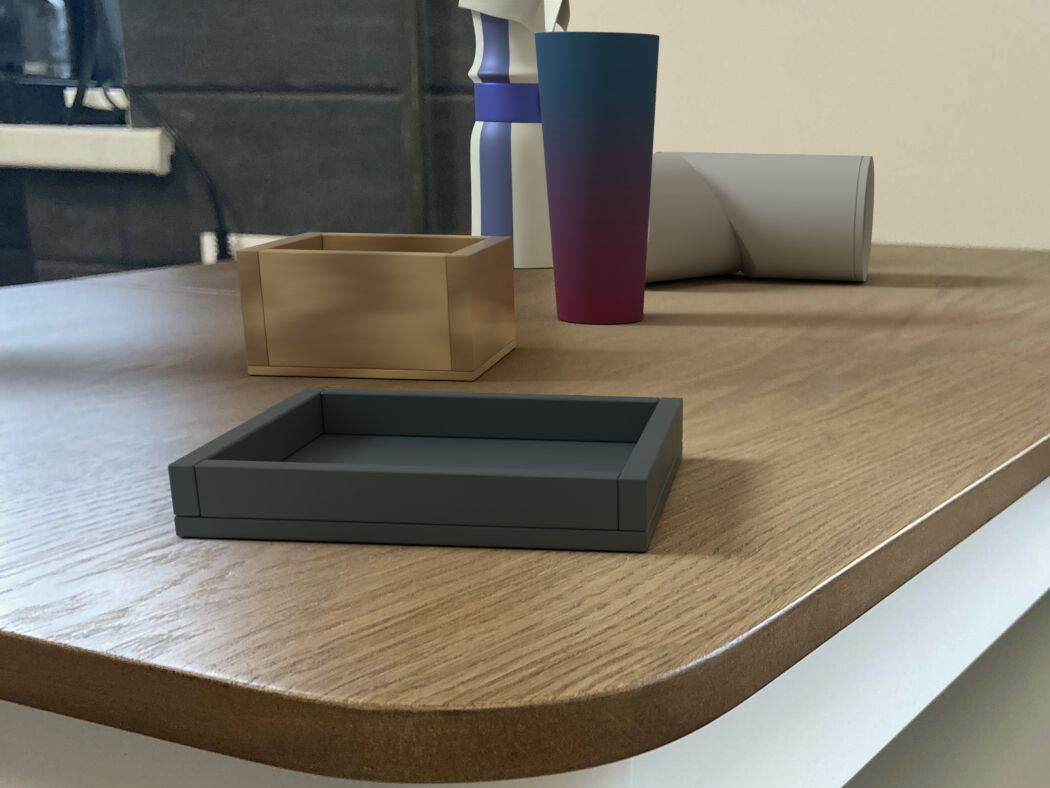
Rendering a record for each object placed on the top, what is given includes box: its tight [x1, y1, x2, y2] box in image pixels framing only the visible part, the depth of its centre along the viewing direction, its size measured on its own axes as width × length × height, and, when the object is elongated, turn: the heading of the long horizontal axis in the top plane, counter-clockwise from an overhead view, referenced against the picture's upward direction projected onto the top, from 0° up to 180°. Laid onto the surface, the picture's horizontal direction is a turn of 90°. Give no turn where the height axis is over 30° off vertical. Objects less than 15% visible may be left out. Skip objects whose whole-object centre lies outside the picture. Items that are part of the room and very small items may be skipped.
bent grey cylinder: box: [645, 151, 875, 284], centre depth 106 cm, size 18×11×20 cm
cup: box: [535, 30, 661, 325], centre depth 85 cm, size 7×7×15 cm
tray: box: [167, 387, 684, 553], centre depth 48 cm, size 14×13×2 cm
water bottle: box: [458, 0, 571, 269], centre depth 112 cm, size 8×9×25 cm
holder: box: [235, 231, 517, 382], centre depth 72 cm, size 10×10×5 cm
